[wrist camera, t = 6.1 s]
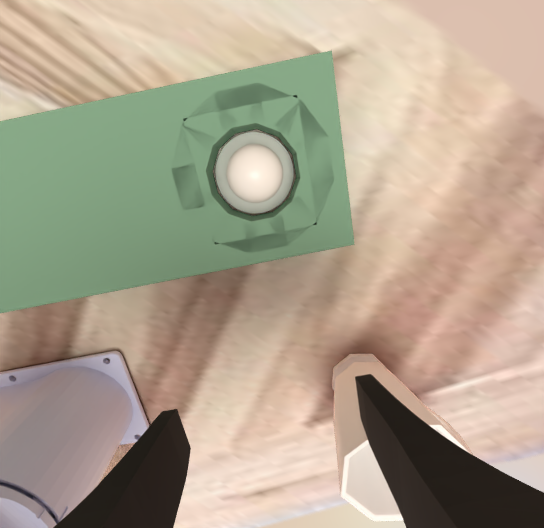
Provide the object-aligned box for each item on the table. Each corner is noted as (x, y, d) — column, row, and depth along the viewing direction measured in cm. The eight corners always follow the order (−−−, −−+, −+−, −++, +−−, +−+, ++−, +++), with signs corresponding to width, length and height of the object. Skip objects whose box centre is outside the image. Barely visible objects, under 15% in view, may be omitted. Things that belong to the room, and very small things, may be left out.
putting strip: (-2, 303, 21) (-35, 319, 19) (-78, 151, 18) (-127, 148, 16) (344, 236, 20) (354, 244, 18) (322, 67, 17) (331, 50, 15)
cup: (338, 323, 22) (378, 404, 14) (454, 367, 23) (548, 463, 16) (298, 398, 24) (315, 505, 16) (408, 435, 25) (472, 551, 17)
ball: (264, 198, 20) (223, 209, 18) (253, 146, 19) (209, 152, 17) (299, 195, 17) (256, 207, 16) (289, 135, 16) (242, 140, 15)
